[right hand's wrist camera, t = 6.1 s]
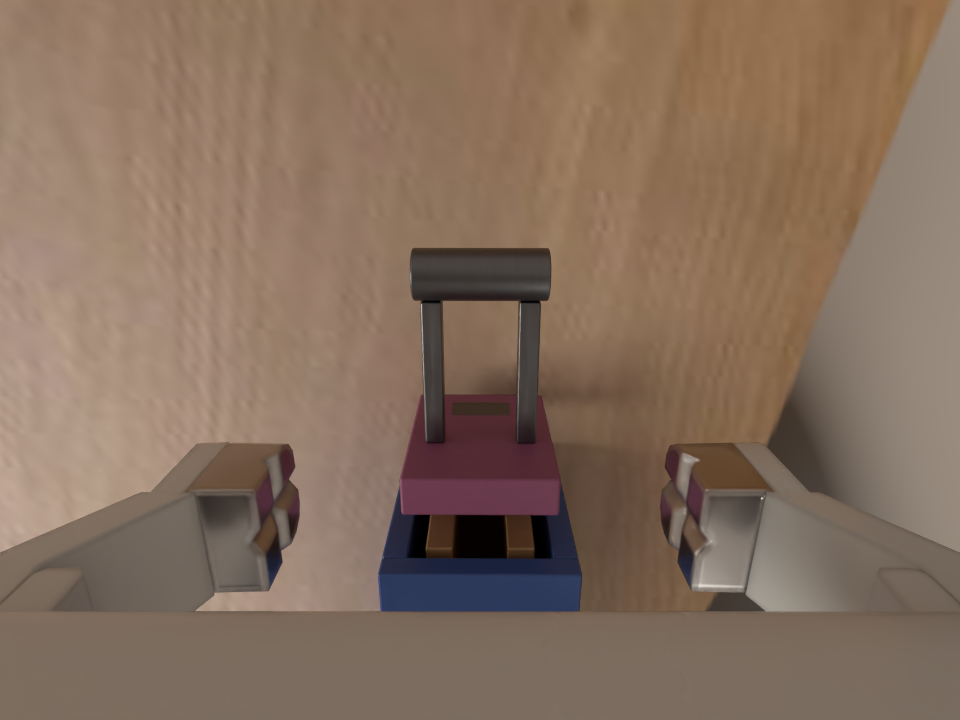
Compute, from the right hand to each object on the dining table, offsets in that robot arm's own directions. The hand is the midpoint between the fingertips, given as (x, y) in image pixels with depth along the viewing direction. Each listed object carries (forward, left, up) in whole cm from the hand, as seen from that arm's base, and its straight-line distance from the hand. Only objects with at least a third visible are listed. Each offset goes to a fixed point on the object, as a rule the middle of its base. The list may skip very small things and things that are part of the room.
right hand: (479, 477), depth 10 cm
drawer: (+9, -3, -11) cm, 14 cm away
